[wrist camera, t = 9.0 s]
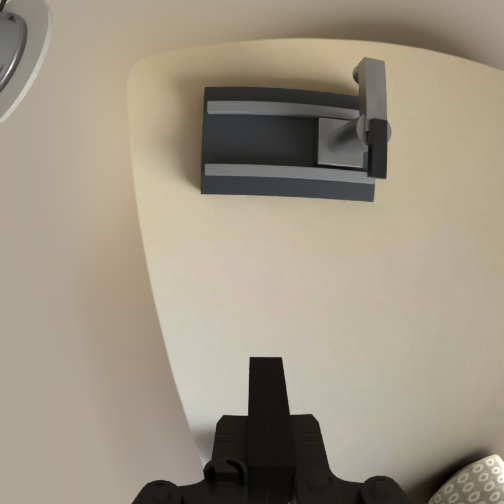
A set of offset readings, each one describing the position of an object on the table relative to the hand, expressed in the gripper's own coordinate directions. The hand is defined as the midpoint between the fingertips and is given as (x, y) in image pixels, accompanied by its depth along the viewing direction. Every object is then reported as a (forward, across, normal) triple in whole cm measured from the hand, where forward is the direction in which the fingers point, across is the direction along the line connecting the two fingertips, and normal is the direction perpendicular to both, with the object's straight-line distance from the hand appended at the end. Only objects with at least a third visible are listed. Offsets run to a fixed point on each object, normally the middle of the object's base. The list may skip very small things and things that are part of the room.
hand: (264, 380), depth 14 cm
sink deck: (+17, +3, +13) cm, 21 cm away
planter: (+18, +46, -48) cm, 69 cm away
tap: (+15, +7, +14) cm, 22 cm away
